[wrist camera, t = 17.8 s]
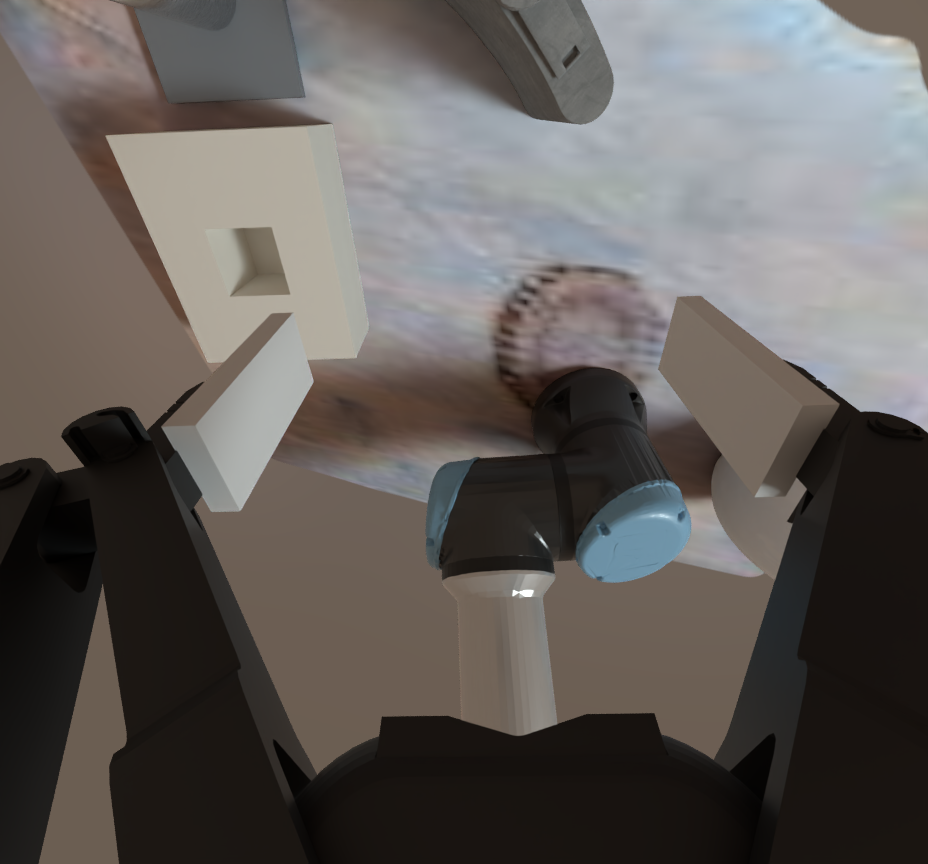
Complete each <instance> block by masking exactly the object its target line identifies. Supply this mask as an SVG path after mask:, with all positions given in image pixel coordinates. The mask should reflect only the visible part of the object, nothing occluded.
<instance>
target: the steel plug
mask: <svg viewBox="0 0 928 864" xmlns="http://www.w3.org/2000/svg"><path fill="white" fill-rule="evenodd" d="M110 1H114V2H117V3H120V4H123V5H127V6H130V7H133V8H137V9H140V10H143V11H147V12H150V13H153V14H157V15H160V16H163V17H166V18H170V19H173V20H176V21H180V22H183V23H186V24H190V25H193V26H196V27H200V28H203V29H206V30H211V31H217V30H221V29H223V28H225V27H227V26H228V25H229V23H230V22H231V21H232V19H233V17H234V14H235V9H236V0H110Z"/></svg>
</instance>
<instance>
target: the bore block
mask: <svg viewBox="0 0 928 864" xmlns="http://www.w3.org/2000/svg"><path fill="white" fill-rule="evenodd" d="M105 136H106V138H107V140H108V143H109V145H110V147H111V149H112V152H113V154H114V156H115V158H116V160H117V163H118V165H119V167H120V169H121V171H122V174H123V176H124V178H125V180H126V183H127V185H128V187H129V189H130V191H131V194H132V196H133V198H134V200H135V202H136V205H137V207H138V209H139V211H140V214H141V216H142V218H143V220H144V222H145V225H146V227H147V229H148V231H149V233H150V236H151V238H152V240H153V242H154V245H155V247H156V249H157V251H158V253H159V256H160V258H161V260H162V262H163V264H164V267H165V269H166V271H167V273H168V276H169V278H170V280H171V282H172V284H173V287H174V289H175V291H176V293H177V295H178V298H179V300H180V302H181V304H182V307H183V309H184V311H185V313H186V315H187V318H188V320H189V322H190V324H191V326H192V329H193V331H194V333H195V335H196V338H197V340H198V342H199V344H200V346H201V349H202V351H203V353H204V355H205V357H206V360H207V362H208V363H217V362H225V361H226V360H227V359H228V358H229V356H230V355H231V354H232V353H233V352H234V351H235V350H236V349H237V348H238V347H239V346H240V345H241V344H242V343H243V342H244V341H245V340H246V339H247V338H248V337H249V336H250V335H251V334H252V333H253V332H254V331H255V330H256V329H257V328H258V327H259V326H260V325H261V324H262V323H263V322H264V321H265V319H266V318H267V317H268V316H269V315H270V314H271V313H292V312H293V313H294V316H295V320H296V323H297V327H298V330H299V333H300V337H301V340H302V344H303V347H304V350H305V354H306V357H307V360H314V359H346V358H356V357H357V355H358V352H359V350H360V348H361V345H362V343H363V341H364V339H365V336H366V334H367V332H368V330H369V322H368V316H367V311H366V305H365V300H364V294H363V289H362V283H361V278H360V272H359V267H358V261H357V256H356V250H355V245H354V239H353V234H352V228H351V223H350V217H349V212H348V206H347V201H346V195H345V190H344V184H343V179H342V173H341V168H340V162H339V157H338V151H337V146H336V140H335V135H334V129H333V124H318V125H296V126H273V127H251V128H228V129H206V130H184V131H162V132H148V133H133V134H119V135H105Z"/></svg>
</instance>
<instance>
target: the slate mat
mask: <svg viewBox="0 0 928 864" xmlns="http://www.w3.org/2000/svg"><path fill="white" fill-rule="evenodd" d="M134 10H135V13H136V16H137V18H138V21H139V24H140V27H141V29H142V32H143V35H144V38H145V40H146V43H147V46H148V49H149V51H150V54H151V57H152V60H153V62H154V65H155V68H156V71H157V73H158V76H159V79H160V82H161V84H162V87H163V90H164V93H165V95H166V98H167V101H168V103H194V102H216V101H238V100H259V99H281V98H302V97H305V93H304V88H303V83H302V78H301V73H300V68H299V63H298V59H297V54H296V49H295V44H294V39H293V34H292V30H291V25H290V20H289V15H288V10H287V5H286V1H285V0H236V9H235V14H234V17H233V19H232V21H231V22H230V23H229V25H228V26H227V27H225V28H223V29H221V30H217V31H211V30H206V29H203V28H200V27H196V26H193V25H190V24H186V23H183V22H180V21H176V20H173V19H170V18H166V17H163V16H160V15H157V14H153V13H150V12H147V11H143V10H140V9H137V8H134Z"/></svg>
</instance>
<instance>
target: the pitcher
mask: <svg viewBox="0 0 928 864" xmlns="http://www.w3.org/2000/svg"><path fill="white" fill-rule="evenodd" d="M806 490H807V489H806V487H805V486H804V485H803V484H802V483H801V482H800V481H799V480H798V479H797V478H796V480H795V481H794V483H793V485H792V486H791V488H790V490H789V492H788V493H787V495H786V496H784V497H754V496H753V495H752V493H751V492H750V491H749V489H748V488H747V487H746V485H745V484H744V483H743V481H742V480H741V479H740V477H739V476H738V475H737V473H736V472H735V471H734V469H733V468H732V467H731V465H730V464H729V463H728V461H727V460H726V459H725V457H724V456H723V455H721V456H720V458H719V459H718V460H717V462H716V464H715V467H714V470H713V474H712V481H711V495H712V501H713V506H714V509H715V512H716V514H717V517H718V519H719V521H720V523H721V525H722V527H723V528H724V530H725V532H726V533H727V535H728V536H729V537H730V539H731V540H732V541H733V543H734V544H735V545H736V546H737V547H738V549H739V550H740V551H741V552H742V553H743V554H744V555H745V556H746V557H747V558H748V559H749V560H750V561H752V562H753V563H754V564H755V565H756V566H757V567H759V568H760V569H761V570H762V571H764V572H765V573H766V574H767V575H769V576H770V577H771V578H773V579H774V580H775V579H776V576H777V573H778V569H779V566H780V563H781V560H782V556H783V553H784V550H785V547H786V544H787V540H788V537H789V534H790V531H791V527H792V524H793V523H792V524H791V523H789V522H787V520H788V519H789V517H790V515H791V514H792V512H793V511H794V509H795V507H796V506H797V504H798V503H799V501H800V499H801V498H802V496H803V495H804V493H805V491H806Z"/></svg>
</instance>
